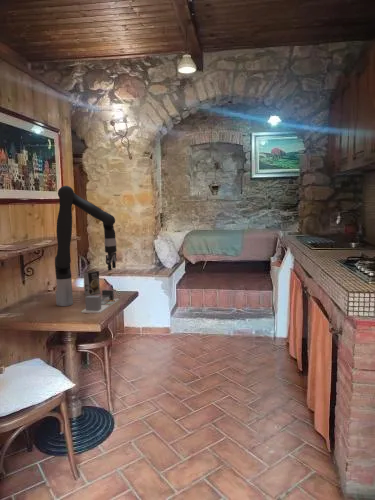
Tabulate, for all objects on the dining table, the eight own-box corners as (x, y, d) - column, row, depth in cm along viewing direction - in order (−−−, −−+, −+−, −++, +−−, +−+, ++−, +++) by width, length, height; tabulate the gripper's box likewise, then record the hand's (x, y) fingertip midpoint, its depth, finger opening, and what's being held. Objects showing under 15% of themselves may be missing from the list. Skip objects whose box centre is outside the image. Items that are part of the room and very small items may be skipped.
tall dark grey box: (95, 304, 234) (95, 294, 233) (103, 298, 247) (103, 289, 246) (110, 304, 233) (109, 294, 232) (117, 299, 245) (117, 290, 245)
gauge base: (81, 312, 220) (80, 297, 219) (102, 299, 250) (101, 286, 249) (100, 313, 218) (99, 298, 217) (119, 300, 248) (118, 286, 247)
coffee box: (90, 295, 263) (88, 273, 261) (84, 294, 267) (83, 272, 265) (100, 293, 270) (99, 271, 268) (94, 291, 274) (93, 270, 272)
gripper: (108, 244, 255) (110, 267, 257) (101, 246, 241) (102, 271, 243) (119, 243, 254) (120, 267, 256) (112, 246, 240) (113, 271, 242)
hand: (112, 269), depth 250 cm, fingers open, 8 cm apart
